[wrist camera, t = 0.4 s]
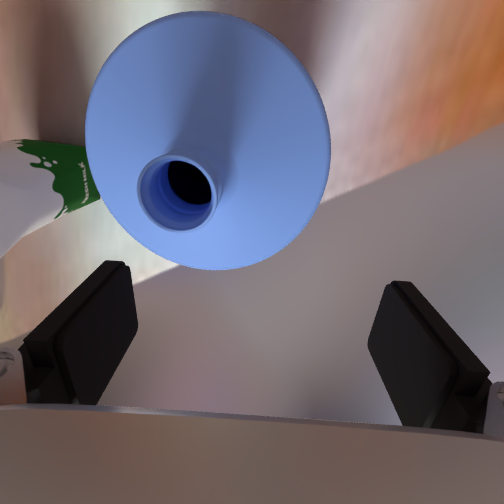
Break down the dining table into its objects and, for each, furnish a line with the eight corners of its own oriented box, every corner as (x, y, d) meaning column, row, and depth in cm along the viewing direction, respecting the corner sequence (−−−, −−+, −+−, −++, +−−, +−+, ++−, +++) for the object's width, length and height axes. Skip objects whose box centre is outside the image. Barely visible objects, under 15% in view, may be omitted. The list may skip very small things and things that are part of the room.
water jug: (319, 153, 37) (444, 242, 12) (223, 218, 41) (166, 386, 16) (249, 31, 31) (204, -285, 6) (147, 121, 36) (-119, 145, 11)
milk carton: (30, 132, 37) (-190, 151, 19) (101, 141, 37) (-49, 169, 19) (44, 198, 41) (-128, 267, 23) (108, 206, 41) (-12, 280, 23)
